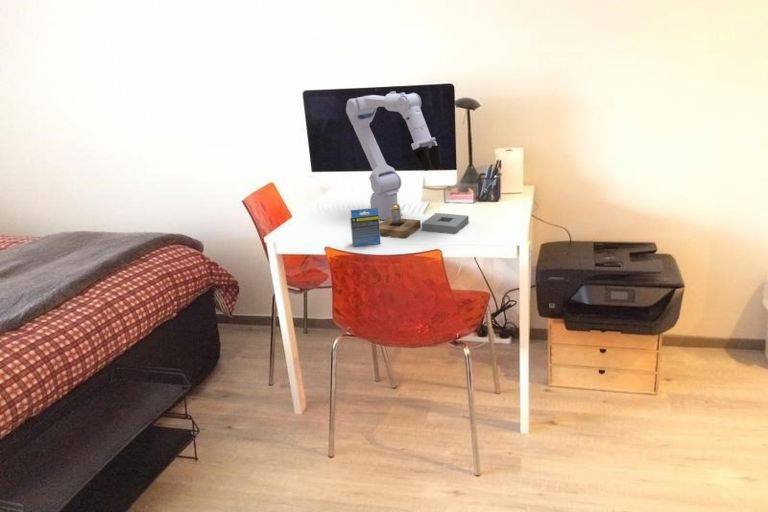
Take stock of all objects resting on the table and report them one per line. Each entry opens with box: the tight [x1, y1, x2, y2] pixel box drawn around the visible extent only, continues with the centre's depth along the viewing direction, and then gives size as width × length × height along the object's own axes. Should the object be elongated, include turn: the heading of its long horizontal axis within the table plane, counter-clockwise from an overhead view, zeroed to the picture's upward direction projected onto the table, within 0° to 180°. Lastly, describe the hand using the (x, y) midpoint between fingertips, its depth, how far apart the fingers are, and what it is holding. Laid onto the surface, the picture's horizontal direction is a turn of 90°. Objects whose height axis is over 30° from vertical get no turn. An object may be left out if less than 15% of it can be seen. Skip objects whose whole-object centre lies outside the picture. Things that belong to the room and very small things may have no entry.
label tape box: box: [349, 207, 381, 247], centre depth 194 cm, size 9×4×12 cm, turn 98°
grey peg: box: [391, 203, 402, 227], centre depth 204 cm, size 3×3×9 cm
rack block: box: [421, 212, 470, 234], centre depth 206 cm, size 12×12×2 cm
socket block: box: [379, 217, 422, 239], centre depth 205 cm, size 12×12×2 cm
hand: (433, 169), depth 195 cm, fingers open, 7 cm apart
